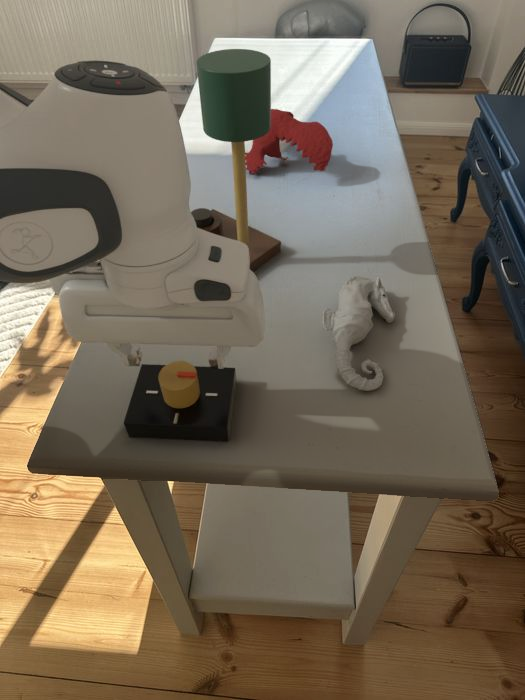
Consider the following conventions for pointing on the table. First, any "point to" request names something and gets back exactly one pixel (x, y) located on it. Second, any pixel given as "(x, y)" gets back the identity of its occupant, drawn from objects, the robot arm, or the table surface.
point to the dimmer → (182, 423)
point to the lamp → (236, 110)
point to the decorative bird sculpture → (305, 134)
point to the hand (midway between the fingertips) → (175, 363)
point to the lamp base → (258, 244)
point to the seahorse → (357, 326)
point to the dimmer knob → (179, 384)
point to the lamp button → (202, 217)
